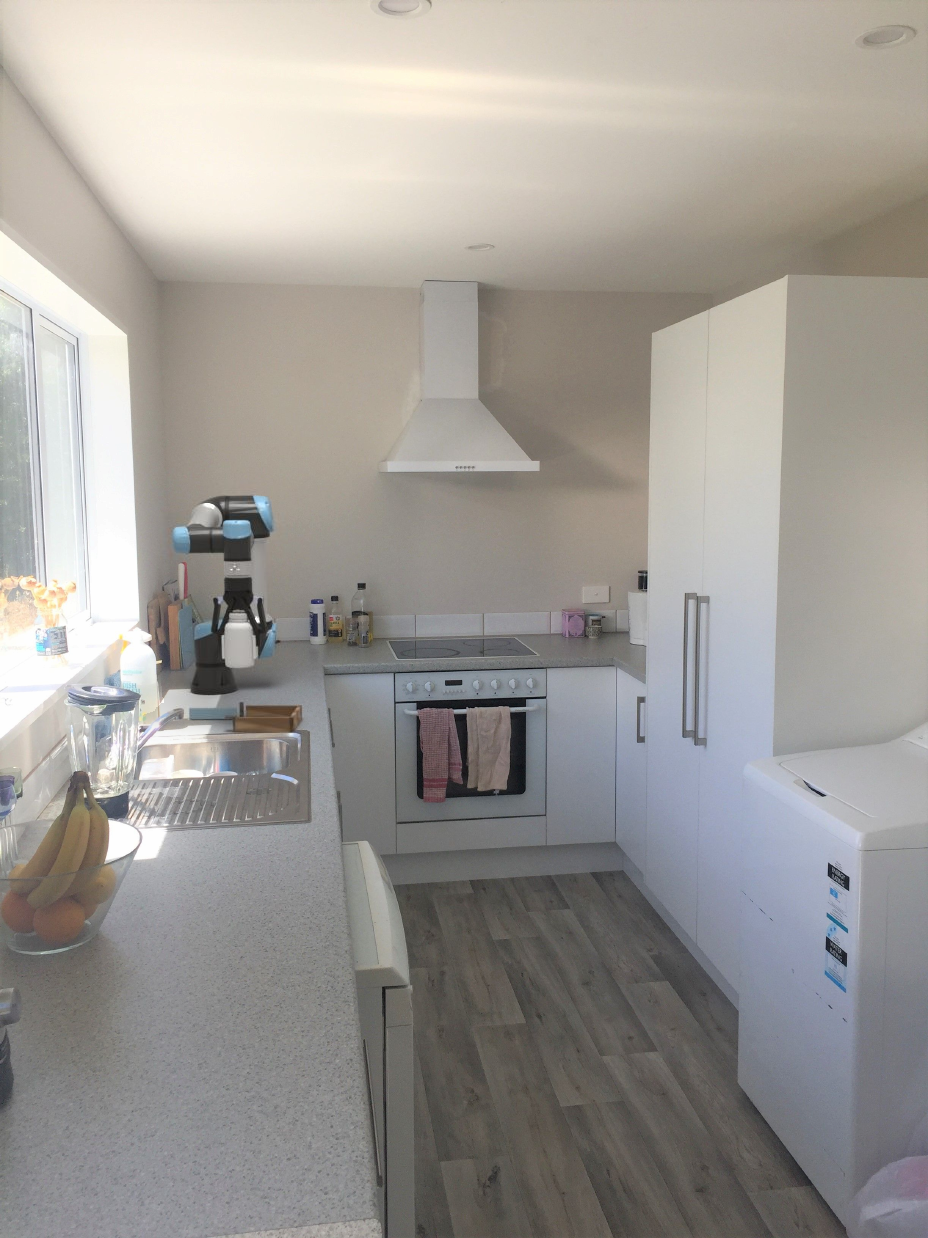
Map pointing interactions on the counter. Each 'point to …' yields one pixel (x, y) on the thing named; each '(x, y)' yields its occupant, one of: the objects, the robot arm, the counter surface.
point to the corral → (267, 718)
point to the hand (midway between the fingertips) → (240, 658)
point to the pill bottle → (239, 641)
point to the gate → (211, 713)
